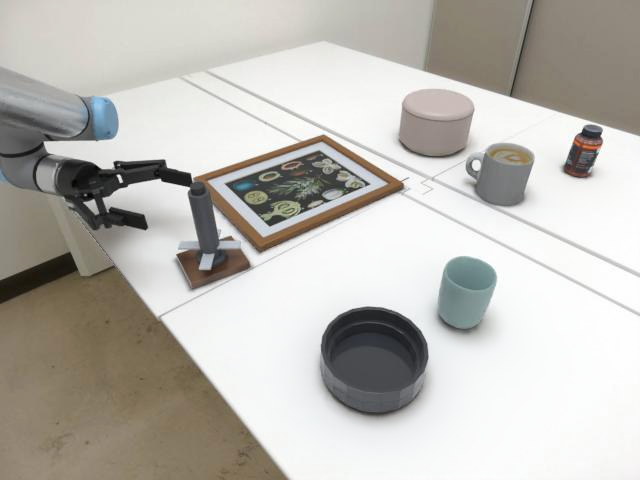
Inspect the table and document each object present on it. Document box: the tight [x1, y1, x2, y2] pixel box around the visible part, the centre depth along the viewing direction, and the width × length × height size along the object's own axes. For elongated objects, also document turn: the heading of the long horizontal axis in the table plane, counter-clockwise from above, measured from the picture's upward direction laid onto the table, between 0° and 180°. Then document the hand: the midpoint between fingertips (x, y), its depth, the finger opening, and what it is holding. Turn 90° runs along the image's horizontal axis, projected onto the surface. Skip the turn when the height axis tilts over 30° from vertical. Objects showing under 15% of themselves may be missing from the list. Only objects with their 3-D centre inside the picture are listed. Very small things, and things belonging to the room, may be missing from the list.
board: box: [175, 235, 251, 290], centre depth 85 cm, size 11×9×2 cm
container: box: [398, 88, 476, 157], centre depth 118 cm, size 18×18×12 cm
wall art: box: [192, 133, 405, 253], centre depth 105 cm, size 31×2×38 cm
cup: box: [437, 255, 498, 330], centre depth 71 cm, size 8×8×10 cm
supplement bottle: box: [563, 123, 604, 178], centre depth 106 cm, size 6×6×11 cm
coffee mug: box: [465, 142, 536, 206], centre depth 101 cm, size 13×10×10 cm
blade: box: [177, 181, 242, 270], centre depth 79 cm, size 11×11×16 cm
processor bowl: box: [320, 305, 430, 414], centre depth 65 cm, size 15×15×6 cm
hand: (169, 200), depth 79 cm, fingers open, 13 cm apart
